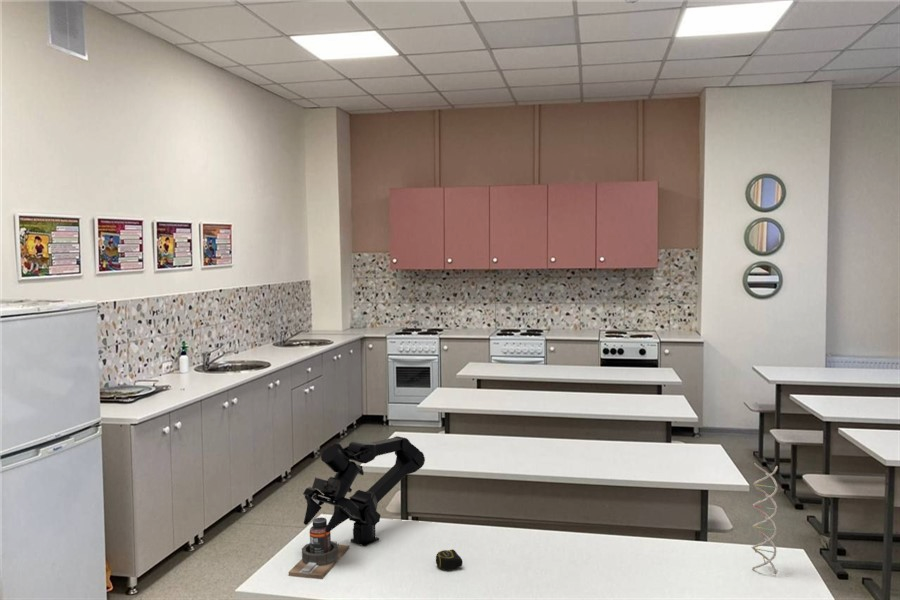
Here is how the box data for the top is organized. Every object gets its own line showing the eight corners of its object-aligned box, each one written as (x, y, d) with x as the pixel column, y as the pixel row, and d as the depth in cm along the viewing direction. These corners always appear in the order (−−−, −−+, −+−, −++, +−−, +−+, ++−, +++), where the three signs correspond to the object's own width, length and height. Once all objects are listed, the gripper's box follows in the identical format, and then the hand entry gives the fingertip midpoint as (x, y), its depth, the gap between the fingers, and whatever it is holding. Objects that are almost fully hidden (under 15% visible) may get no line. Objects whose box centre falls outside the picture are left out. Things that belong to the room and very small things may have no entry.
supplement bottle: (329, 552, 207) (329, 514, 206) (332, 561, 201) (331, 522, 200) (309, 555, 205) (308, 517, 204) (311, 563, 200) (310, 524, 199)
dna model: (777, 569, 194) (779, 462, 192) (776, 578, 189) (778, 469, 187) (751, 564, 198) (753, 459, 196) (749, 573, 192) (751, 465, 190)
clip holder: (318, 545, 214) (318, 533, 214) (349, 548, 212) (349, 535, 211) (288, 575, 195) (288, 561, 194) (322, 578, 192) (321, 564, 192)
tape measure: (463, 570, 197) (463, 557, 197) (439, 573, 195) (439, 560, 195) (455, 560, 203) (455, 547, 203) (433, 563, 201) (432, 550, 201)
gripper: (307, 460, 210) (278, 507, 202) (350, 472, 199) (321, 522, 191) (327, 479, 217) (300, 525, 209) (370, 491, 205) (343, 541, 197)
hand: (315, 528), depth 201 cm, fingers open, 9 cm apart
